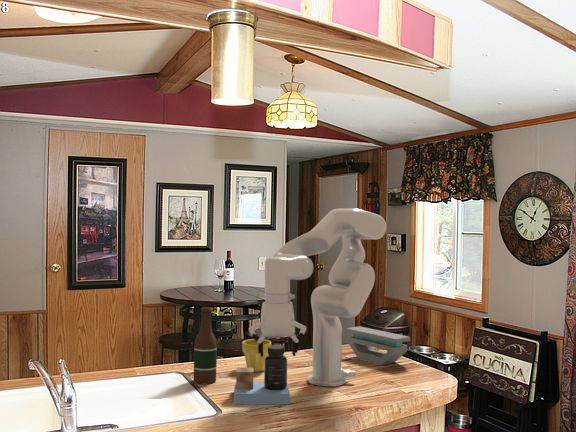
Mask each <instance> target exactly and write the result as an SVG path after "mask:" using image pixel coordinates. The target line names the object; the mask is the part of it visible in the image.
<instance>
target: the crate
mask: <svg viewBox="0 0 576 432" xmlns="http://www.w3.org/2000/svg"><path fill="white" fill-rule="evenodd" d="M254 372H255V371H253V368H247V367H236V376H235V378H236V379H235V380H236V381H235V382H236V389H253V382H254V375H255V374H254Z"/></svg>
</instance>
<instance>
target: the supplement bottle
mask: <svg viewBox="0 0 576 432" xmlns="http://www.w3.org/2000/svg"><path fill="white" fill-rule="evenodd" d="M268 354H269V355H268V356H266V357H265V361H264V371H263V373H264V375H263V378H264V379H263V382H264V386H265V388H266V389H269V390H283V389H285V388H286V387H287V384H288V358H287V357H286V356H285V347H284V346H283V345H271V346H269V347H268Z"/></svg>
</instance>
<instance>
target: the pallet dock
mask: <svg viewBox="0 0 576 432" xmlns="http://www.w3.org/2000/svg"><path fill="white" fill-rule="evenodd" d="M290 395H291V393H290V389H289V385H288V383H287V387H286V388H285V389H283V390H269V389H266V388H265V386H264V381H253V389H236V381H234V390H233V405H290V401H291V400H290V399H291V397H290Z"/></svg>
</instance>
